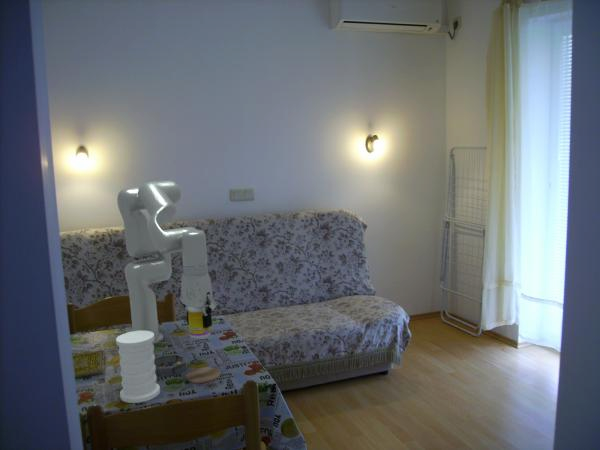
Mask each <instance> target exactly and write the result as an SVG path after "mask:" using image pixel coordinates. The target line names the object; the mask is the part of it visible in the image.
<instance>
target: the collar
mask: <svg viewBox="0 0 600 450" xmlns="http://www.w3.org/2000/svg"><path fill="white" fill-rule="evenodd" d="M168 363H175V364H174V365H173V366H163V367H159V366H161V365H163V364H168ZM154 364H155V367H156V370H155V374H156V377H165V376H166V377H168V376H175V375H177V374H179V373H181V372H184V371H186V370H187V368H188V356H187V355H183V354H180V353H169V354H168V353H166V354H161V355H159V356H158V355H157V356H155V361H154Z"/></svg>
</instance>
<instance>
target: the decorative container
mask: <svg viewBox="0 0 600 450" xmlns="http://www.w3.org/2000/svg"><path fill="white" fill-rule="evenodd" d="M153 340H154V333H153V332H151V331H132V332H129V331H128V332H125V333H122V334H120V335H118V336H116V339H115V341H116V343H115V344H116V346H118V347H119V348H118V354H119V355H118V356H119V359H120V360H119V366H120V372H119V374H120V377H121V387H122V389H121V390H120V392H119V398H120V400H121V401H123V402H124V403H128V404H138V403H144V402H148V401H150V400H153V399H154V398H157V396H159V395H160V393H161V386H160V384H159V383H157V379H158V378H157V377H158V376H156V374H155V370H156V367H157V366H156V367H155V364H154V361H155V358H156V356H155V354H154V350H155V344H153V343H152V341H153Z"/></svg>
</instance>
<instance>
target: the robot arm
mask: <svg viewBox="0 0 600 450" xmlns="http://www.w3.org/2000/svg"><path fill="white" fill-rule="evenodd" d="M181 197H182V191H181V188H180V186H179V184H178V183H176V182H175V180H169V179H167V180H155V181H154V180H152V181H148V182H147V181H146V182H143V183H142V184H141V185H140V186H133V187H132V186H131V187H126V188H123V189H121V190H120V191H119V192H118V194H117V199H116V200H117V207H118V210H119V212H120V215H121V218H122V220H123V228H124V236H125V239H124V240H125V245H126V247H125V248H126V251H127V254H128V255H129V257H132V258H140V257H142V258H143V257H147V256H148V257H149V256H154V255H155V257H152V258H150V257H149V258H145V259H138V260H133V261H132V262H129V263H127V264H126V265H125V267H124V276H125V280H126V283H127V284H126V285H127V288H128V295H129V305H130V316H131V327H132V328H131V329H130V328H129V330H128V332H132V331H151V332H153V333H154V340H153V341H152V343H153V345H155V344H158V343H161V341H163V340H164V335H163V334H162V333H161V332H159V321H158V310H157V300H156V298H157V297H156V293H155V292H154V290H153V289H151V287H150V286H149V285H150V284H155V283H161V282H164V281H168V280H169V279H170V278H171V277H172V273H173V270H172V258H171V257H172V255H171V254H175V253H181V254H182V255H181V257H182V270H183V273H182V275H181V283H180V290H181V291H180V295H181V296H180V297H179V300H180V302H181V303H182V306H183V307H184V311H185V312H186V321H187V325H189V319H188V306H193V307H197V308H201V309H202V311H203V314H204V315H203V328H207V327H210V328H211V327H212V326H213V320H212V319H213V317H212V314H213V313H214V311H215V309H216V307H217V306H218V304H217V303H218V302H216V300H215V299H214V298H213V290H212V282H211V277H210V275H209V270H208V269H209V266H208V253H207V251H208V249H207V241H206V240H207V239H206V233H205V231H204V230H201V229H197V228H195V227H192V226H185V227H178V228H170V229H165V230H164V229H162V227H164V226H165V225H167V224H168V223H170V222H171V221H172V220H173V219H174V218H175V216H176V215H177V208H176V205H175V204H177V203H179V201H180V200H181ZM142 210H146V211H147V212H148V214H149V215H150V219H149V220H148V217H147V216H146V215H145V213H144V212H143V211H142ZM205 307H207V311H206V308H205Z"/></svg>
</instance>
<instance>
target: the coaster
mask: <svg viewBox="0 0 600 450" xmlns="http://www.w3.org/2000/svg"><path fill="white" fill-rule="evenodd" d="M220 376H221V370H220V369H218V368H216V367H209V366H205V367H204V366H203V367H198V368H194V369H192V370H189V372H187V373H186V374H185V379H186V381H187V382H189V383H193V384H206V383H211V382H213V381H216V380H218V379H219V378H220Z"/></svg>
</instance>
